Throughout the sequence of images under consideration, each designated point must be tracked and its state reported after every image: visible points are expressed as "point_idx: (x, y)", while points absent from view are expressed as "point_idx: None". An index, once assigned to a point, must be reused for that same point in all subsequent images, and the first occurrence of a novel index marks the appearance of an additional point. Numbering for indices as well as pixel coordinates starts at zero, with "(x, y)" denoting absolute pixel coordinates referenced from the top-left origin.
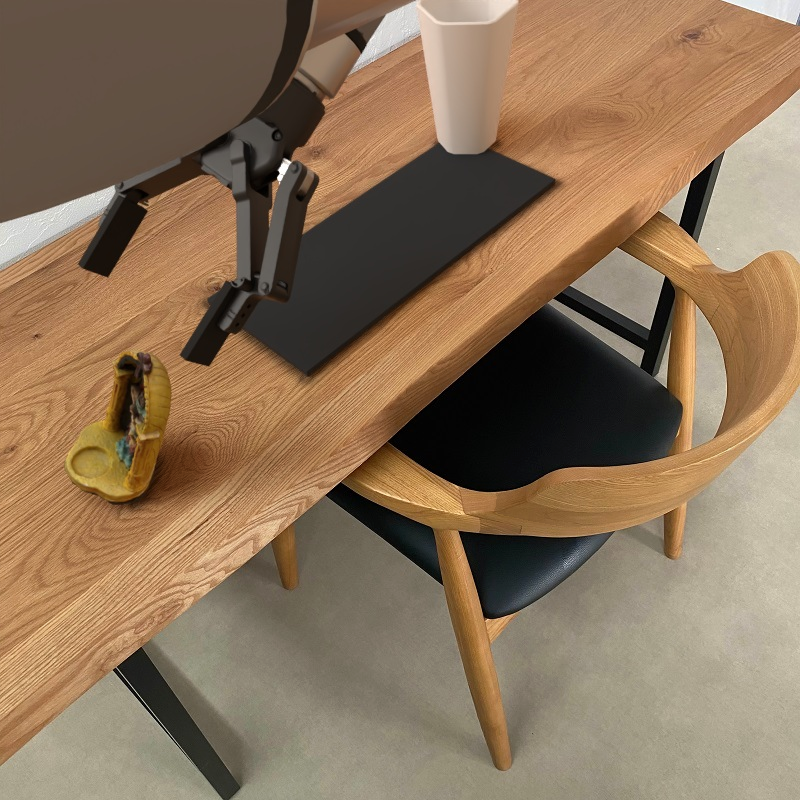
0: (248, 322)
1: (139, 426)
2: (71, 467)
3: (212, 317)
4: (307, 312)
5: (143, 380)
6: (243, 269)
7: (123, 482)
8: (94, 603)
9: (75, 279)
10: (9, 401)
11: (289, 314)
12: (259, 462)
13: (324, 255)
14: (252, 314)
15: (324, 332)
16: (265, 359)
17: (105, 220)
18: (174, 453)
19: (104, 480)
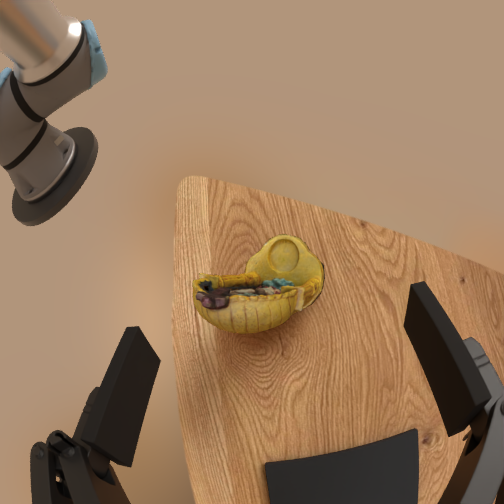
0: (362, 452)
1: (214, 279)
2: (284, 238)
3: (100, 386)
4: (330, 498)
5: (207, 291)
6: (73, 469)
7: (255, 272)
8: (197, 224)
9: (500, 328)
10: (410, 238)
11: (341, 486)
12: (212, 378)
13: None
14: (368, 459)
15: (295, 498)
16: (314, 445)
17: (463, 350)
18: None
19: (262, 258)
